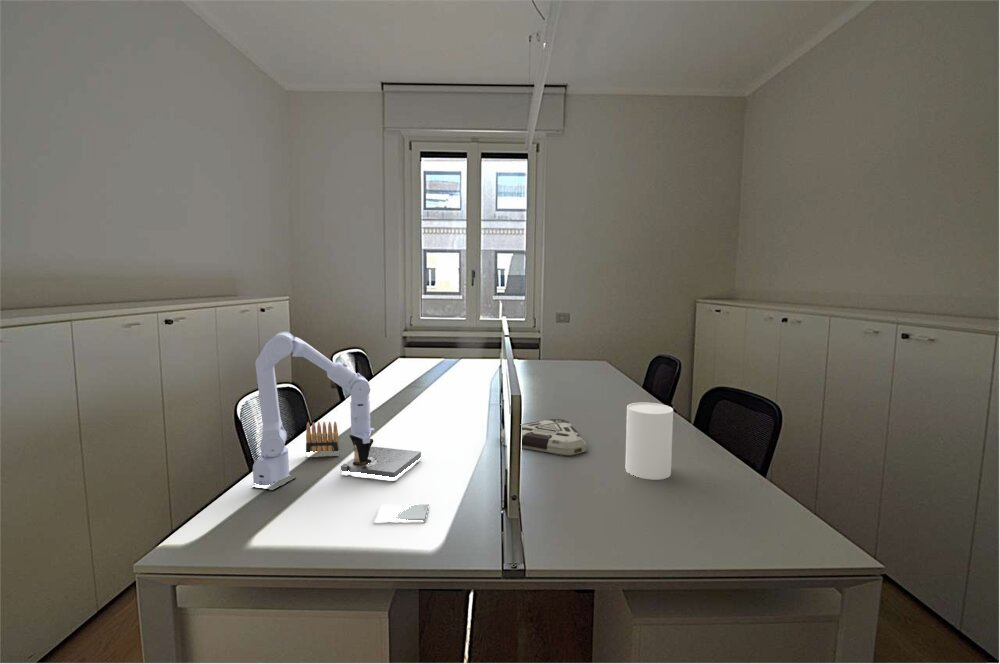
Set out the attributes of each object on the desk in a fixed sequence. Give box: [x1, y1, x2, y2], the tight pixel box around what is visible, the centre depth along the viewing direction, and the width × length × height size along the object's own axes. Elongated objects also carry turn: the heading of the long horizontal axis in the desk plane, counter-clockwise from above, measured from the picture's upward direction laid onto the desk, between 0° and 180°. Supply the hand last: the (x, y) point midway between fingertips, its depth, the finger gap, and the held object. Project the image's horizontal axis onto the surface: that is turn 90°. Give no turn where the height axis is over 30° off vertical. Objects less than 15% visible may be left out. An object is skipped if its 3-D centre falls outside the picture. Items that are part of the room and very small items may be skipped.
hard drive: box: [396, 503, 430, 522], centre depth 123 cm, size 2×8×12 cm
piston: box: [353, 445, 368, 466], centre depth 150 cm, size 4×4×7 cm
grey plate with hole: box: [340, 446, 422, 477], centre depth 154 cm, size 18×18×3 cm
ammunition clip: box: [305, 421, 340, 453], centre depth 163 cm, size 11×2×12 cm, turn 95°
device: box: [500, 418, 587, 457], centre depth 181 cm, size 33×27×5 cm
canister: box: [624, 401, 674, 481], centre depth 150 cm, size 14×14×20 cm
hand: (361, 459), depth 150 cm, fingers closed on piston, 4 cm apart
